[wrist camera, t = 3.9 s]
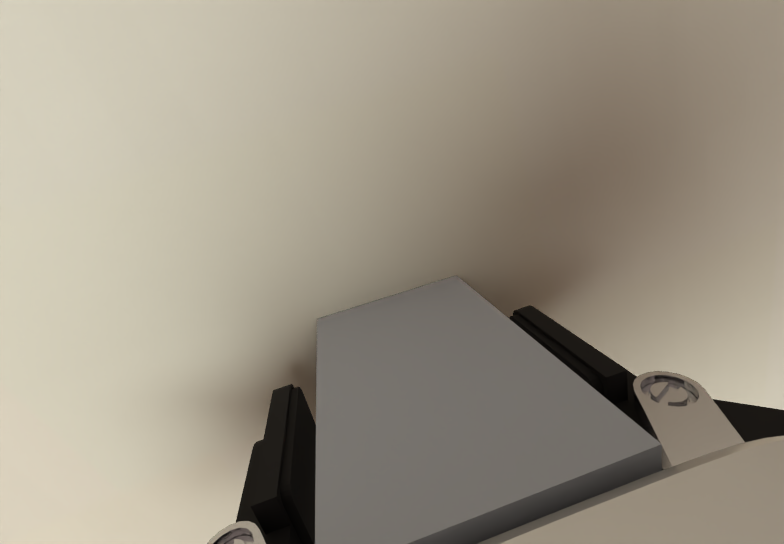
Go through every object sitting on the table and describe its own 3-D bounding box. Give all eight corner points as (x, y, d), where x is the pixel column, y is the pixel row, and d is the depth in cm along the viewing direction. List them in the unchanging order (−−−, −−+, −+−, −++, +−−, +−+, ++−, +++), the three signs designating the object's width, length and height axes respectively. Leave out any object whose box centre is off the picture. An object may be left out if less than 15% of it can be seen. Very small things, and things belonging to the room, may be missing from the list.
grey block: (456, 275, 13) (661, 443, 5) (479, 390, 14) (659, 646, 7) (316, 318, 12) (314, 580, 5) (357, 433, 14) (406, 764, 6)
